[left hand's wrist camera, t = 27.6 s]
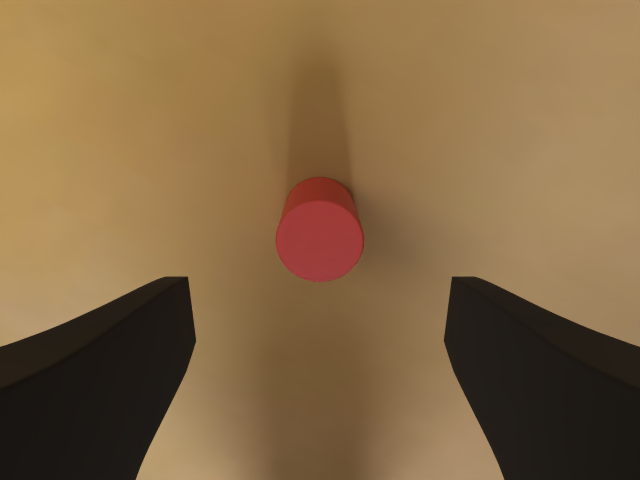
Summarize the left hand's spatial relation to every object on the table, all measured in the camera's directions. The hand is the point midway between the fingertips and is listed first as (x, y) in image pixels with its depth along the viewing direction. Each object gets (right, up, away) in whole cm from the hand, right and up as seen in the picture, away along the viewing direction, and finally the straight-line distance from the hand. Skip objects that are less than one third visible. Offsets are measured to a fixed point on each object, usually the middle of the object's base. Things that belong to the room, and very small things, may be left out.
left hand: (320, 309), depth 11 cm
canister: (0, +3, +9) cm, 9 cm away
